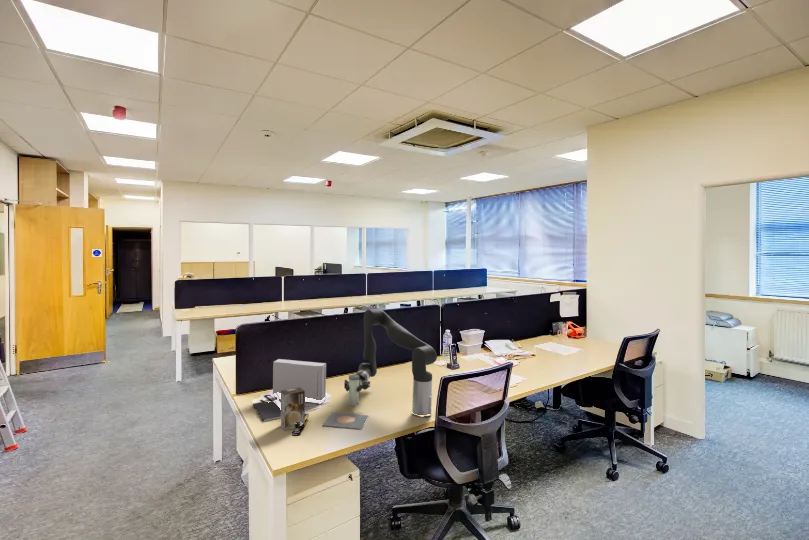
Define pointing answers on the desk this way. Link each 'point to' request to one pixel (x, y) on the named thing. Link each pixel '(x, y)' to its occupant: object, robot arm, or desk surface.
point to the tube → (353, 389)
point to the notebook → (268, 410)
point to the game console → (300, 377)
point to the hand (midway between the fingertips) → (352, 389)
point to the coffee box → (292, 407)
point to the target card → (345, 420)
